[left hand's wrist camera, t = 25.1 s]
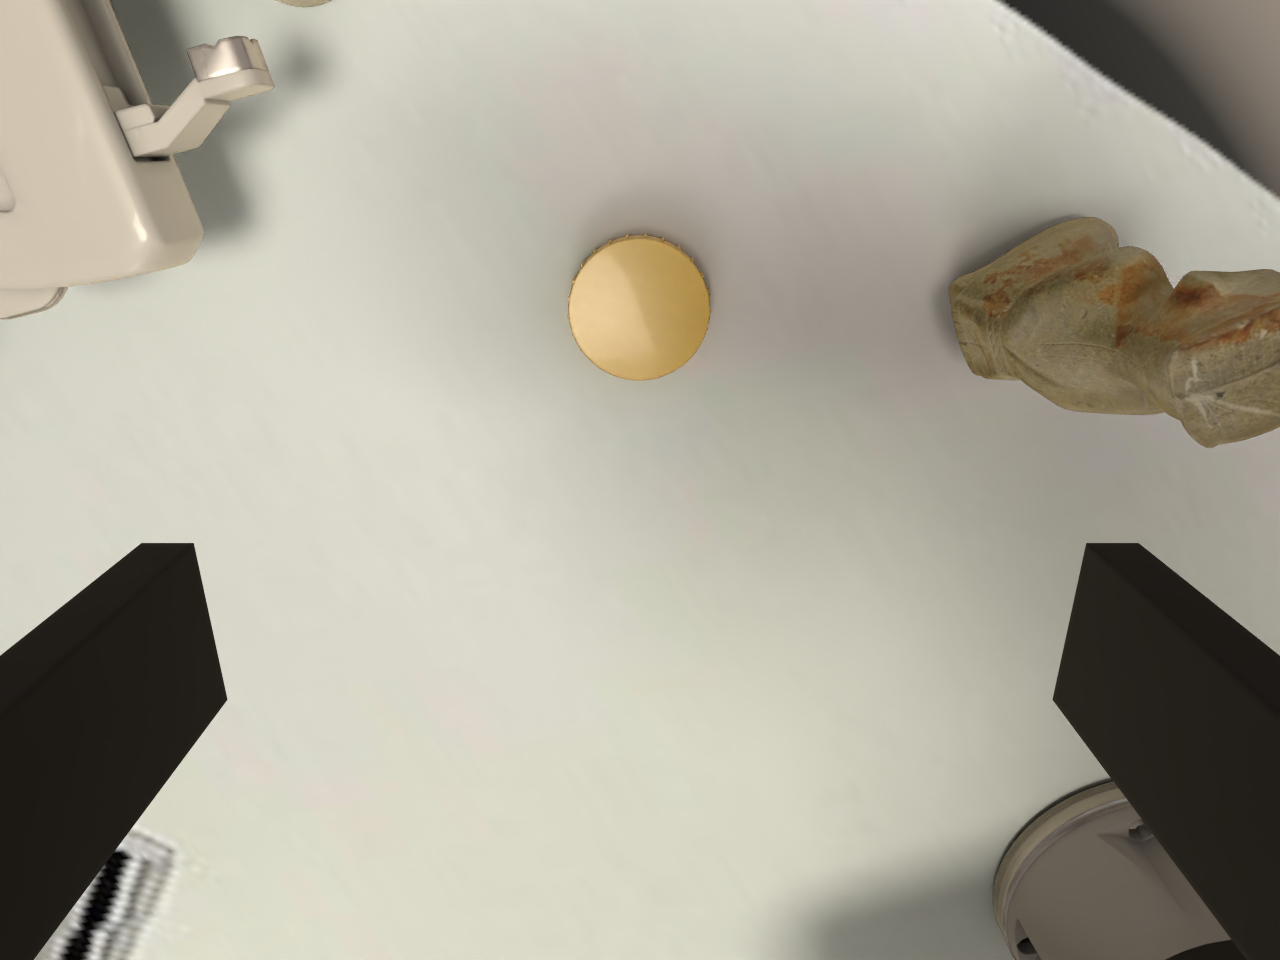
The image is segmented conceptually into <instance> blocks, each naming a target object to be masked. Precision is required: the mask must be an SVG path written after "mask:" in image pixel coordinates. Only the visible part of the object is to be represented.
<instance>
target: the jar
mask: <svg viewBox="0 0 1280 960" xmlns="http://www.w3.org/2000/svg"><path fill="white" fill-rule="evenodd" d="M277 1H279V2H282V3H285V4H288V5H292V6H299V7H311V6H316V5H321V4H323V3H326V2H328V1H330V0H277Z"/></svg>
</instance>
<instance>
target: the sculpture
mask: <svg viewBox="0 0 1280 960" xmlns="http://www.w3.org/2000/svg"><path fill="white" fill-rule="evenodd" d="M949 296H950V303H951V313H952V318H953V323H954V326H955V330H956V334H957V337H958V340H959V344H960V347H961V350H962V352H963V355H964V357H965V360H966V362H967V364H968V366H969V368H970V369H971V371H972V372H973V373H974V374H976V375H979V376H983V377H984V378H986V379H997V380H1022V381H1023V382H1024V383H1025V384H1026V385H1028V386H1029V387H1031V388H1032V389H1034V390H1035V391H1037V392H1038V393H1039V394H1041V395H1042V396H1044V397H1045V398H1047V399H1048V400H1050V401H1051V402H1053V403H1055V404H1056V405H1058V406H1060V407H1062V408H1064V409H1067V410H1071V411H1077V412H1089V413H1104V414H1124V415H1149V414H1158V413H1162V412H1166V413H1167V414H1169V415H1170V416H1172V417H1174V418H1176V419H1178V420H1180V421H1181V422H1182V424H1183V427H1184V428H1185V430H1186V431H1187V432H1188V434H1189V435H1190V436H1191V437H1192V438H1193V439H1194V440H1195V441H1197V442H1198V443H1199V444H1200V445H1202V446H1204V447H1208V448H1212V447H1214V446H1217V445H1219V444H1225V443H1231V442H1237V441H1242V440H1246V439H1249V438H1252V437H1255V436H1258V435H1261V434H1264V433H1266V432H1269V431H1272V430H1274V429H1276V428H1278V427H1280V273H1279V272H1277V271H1274V270H1269V269H1260V270H1250V271H1241V272H1214V271H1191V272H1189V273H1187V274H1186V275H1185V276H1183V278H1182V279H1181V280H1180V281H1179V283H1178V284H1177V286H1176V287H1175V289H1174V288H1173V287H1172V285H1171V284H1170V282H1169V280H1168V278H1167V276H1166V274H1165V272H1164V269H1163V267H1162V266H1161V265H1160V263H1159V262H1158V261H1157V259H1156V258H1155V257H1154V256H1153V255H1152V254H1150V253H1149V252H1148V251H1146V250H1143V249H1141V248H1137V247H1129V246H1128V247H1122V248H1119V243H1118V238H1117V235H1116V232H1115V230H1114V229H1113V227H1112V226H1110V225H1109V224H1107V223H1106V222H1104V221H1103V220H1101V219H1098V218H1095V217H1083V218H1078V219H1072V220H1069V221H1065V222H1062V223H1059V224H1057V225H1055V226H1053V227H1050V228H1048V229H1046V230H1044V231H1042V232H1041V233H1039V234H1037V235H1035V236H1034V237H1032V238H1030V239H1028V240H1026V241H1025V242H1023V243H1021V244H1020V245H1018V246H1016V247H1015V248H1013V249H1012V250H1010V251H1009V252H1007V253H1006V254H1004V255H1003V256H1001V257H1000V258H998V259H996V260H995V261H993V262H991V263H990V264H988V265H986V266H984V267H982V268H980V269H978V270H976V271H974V272H972V273H967V274H964V275H962V276H960V277H959V278H957V279H956V280H955V281H954V282H952V283H951V284H950V286H949Z"/></svg>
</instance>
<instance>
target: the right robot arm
mask: <svg viewBox="0 0 1280 960" xmlns="http://www.w3.org/2000/svg"><path fill="white" fill-rule="evenodd" d="M186 50H187V53H188V56H189V58H190V61H191V64H192V67H193V69H194V72H195V75H196V77H194V79H193V80H192V81H191V82H190V83H189V85H188V86H187V87H186V88H185V90H184V91H183V92H182V93H181V94H180V96H179V97H178V98H177V99H176V100H175V102H174V103H173V104H172V105H171V106H166V105H154V104H152V103H151V100H150V98H149V96H148V93H147V91H146V88H145V86H144V83H143V81H142V79H141V76H140V74H139V71H138V69H137V66H136V64H135V62H134V59H133V57H132V54H131V52H130V50H129V47H128V45H127V42H126V40H125V37H124V35H123V33H122V30H121V28H120V25H119V23H118V21H117V18H116V16H115V13H114V11H113V8H112V6H111V4H110V1H109V0H0V319H14V318H18V317H21V316H25V315H29V314H33V313H37V312H41V311H45V310H48V309H50V308H52V307H53V306H54V305H56V304H57V303H58V302H59V301H60V300H61V299H62V298H63V296H64V294H65V293H66V291H67V289H68V286H76V285H84V284H92V283H98V282H104V281H110V280H116V279H121V278H126V277H132V276H136V275H141V274H145V273H150V272H154V271H159V270H163V269H167V268H171V267H175V266H178V265H181V264H185V263H187V262H189V261H190V260H191V259H192V257H193V255H194V254H195V252H196V250H197V248H198V247H199V245H200V243H201V241H202V239H203V237H204V230H203V227H202V224H201V221H200V219H199V216H198V214H197V212H196V209H195V207H194V204H193V202H192V199H191V197H190V195H189V192H188V190H187V187H186V185H185V183H184V180H183V178H182V175H181V173H180V170H179V168H178V166H177V163H176V161H175V158H174V156H173V154H177V153H181V152H184V151H188V150H191V149H195V148H198V147H200V145H201V144H202V143H203V141H204V140H205V139H206V137H207V136H208V135H209V134H210V132H211V131H212V130H213V128H214V127H215V126H216V124H217V123H218V122H219V120H220V119H221V118H222V116H223V115H224V114H225V112H226V111H227V110H228V108H229V107H230V106H231V105H230V102H229V101H233V100H236V99H240V98H244V97H247V96H251V95H255V94H258V93H262V92H265V91H268V90H271V89H273V88H274V84H273V81H272V79H271V76H270V73H269V70H268V67H267V65H266V62H265V59H264V57H263V54H262V51H261V49H260V46H259V43H258V40H255V39H250V40H249V39H248V37H245V36H234V37H228V38H224V39H220V40H218V42H217V44H216V45H215V46H213V45H209V44H203V45H199V46H196V47H192V48H189V49H186Z"/></svg>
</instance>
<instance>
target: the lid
mask: <svg viewBox="0 0 1280 960" xmlns="http://www.w3.org/2000/svg"><path fill="white" fill-rule="evenodd" d="M703 278H704V275H703V273H702V272H699V270H698V268H697V267H696V265H695V264H694V259H693V258H692V257H691V258H690V257H689V256H688V255H687V254H686V253H685V252H683V251H682V250H681V247H680V246H679V245H678V246H675V245H674V244H672V243H670V242H668V241H666V240H665V239H664V237H662V238H658V237H654V236H648V235H647V233H644V235H631V236H629V234H626V236H625V237H621V238H617V239H615V240H612V239H610V240H609V241H608V243H606V244H604V245H603V246H601V247H600V248H599V249H596V248H595V249H594V251H593V254H592V255H591V256H590V257H589V258H588V259H587V260H586V261H585V262H584V261H583V262H582V264H581V269H580V271H579V272H578V274H577V276H576V277H574V278H573V280H572V283H573V286H572V289H571V293H570V295H569V297H568V300H569V314H568V318H569V321H570V326H571V330H572V335H574V338H575V340H576V342H577V344H578V346H579V347H580V349H581V351H582V352H583V353H584V354H585V356H586V357H587V358H588V359H589V360H590V361H591V362H592V363H594V364H595V365H596V366H597V367H599V368H600V369H602V370H603V371H605V372H607V373H609V374H611V375H614V376H616V377H620V378H623V379H629V380H650V379H655V378H659V377H662V376H664V375H667V374H669V373H671V372H673V371H675V370H677V369H678V368H679V367H681V366H682V365H684V364H685V363H686V362H687V361H688V360H689V359H690V358H691V357H692V356H693V355H694V353H695V352H696V351H697V349H698V348H699V346H700V345H701V343H702V341H703V338H704V336H705V334H706V331H707V330H708V322H709V315H710V313H711V309H710V304H709V296H708V295H710V293H709V290H708V288H706V285H705V282H704V280H703Z"/></svg>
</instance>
